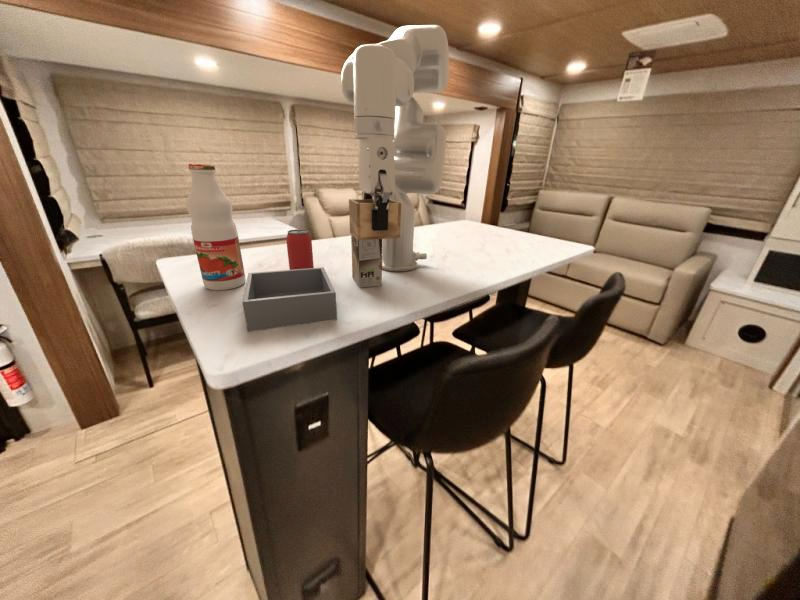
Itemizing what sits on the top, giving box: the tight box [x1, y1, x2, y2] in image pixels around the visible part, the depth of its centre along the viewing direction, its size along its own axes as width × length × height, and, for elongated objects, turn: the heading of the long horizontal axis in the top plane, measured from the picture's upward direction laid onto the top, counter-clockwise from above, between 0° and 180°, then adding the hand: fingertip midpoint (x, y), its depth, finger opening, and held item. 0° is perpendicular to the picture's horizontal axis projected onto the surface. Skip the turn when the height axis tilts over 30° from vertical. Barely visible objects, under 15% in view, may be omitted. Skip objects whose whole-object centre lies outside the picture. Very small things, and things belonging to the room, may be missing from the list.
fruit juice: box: [185, 163, 246, 291], centre depth 73 cm, size 9×9×28 cm
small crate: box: [348, 198, 401, 240], centre depth 64 cm, size 9×7×7 cm
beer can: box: [285, 228, 315, 270], centre depth 86 cm, size 7×7×12 cm
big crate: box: [242, 267, 338, 332], centre depth 66 cm, size 17×17×6 cm
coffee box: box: [350, 233, 383, 289], centre depth 81 cm, size 9×6×16 cm
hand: (374, 225), depth 65 cm, fingers closed on small crate, 7 cm apart
